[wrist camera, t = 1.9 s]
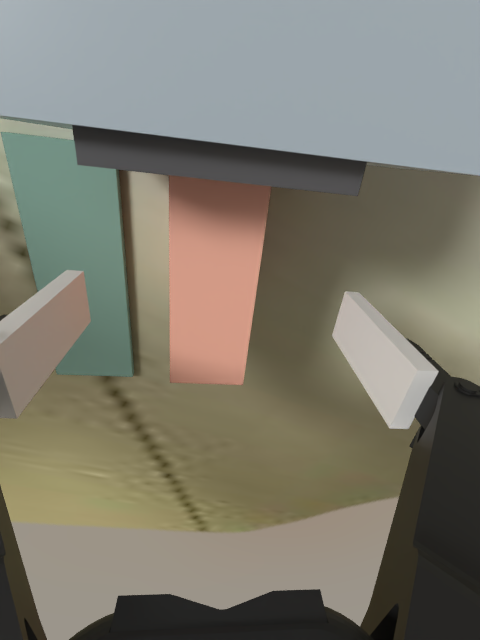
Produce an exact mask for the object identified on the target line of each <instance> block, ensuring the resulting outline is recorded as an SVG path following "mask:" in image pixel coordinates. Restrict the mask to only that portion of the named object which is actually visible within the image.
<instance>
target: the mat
mask: <svg viewBox="0 0 480 640" xmlns="http://www.w3.org/2000/svg"><path fill="white" fill-rule="evenodd" d="M1 136H2V140H3V144H4V148H5V153H6V157H7V161H8V166H9V170H10V174H11V179H12V183H13V187H14V192H15V196H16V200H17V205H18V209H19V213H20V218H21V222H22V226H23V230H24V235H25V239H26V243H27V248H28V252H29V256H30V261H31V265H32V269H33V274H34V278H35V282H36V287H37V291H38V292H39V291H40V290H41V289H43V288H44V287H45V286H46V285H48V284H49V283H50V282H52V281H53V280H54V279H56V278H57V277H58V276H59V275H61V274H62V273H63V272H65V271H66V270H76V271H84V277H85V284H86V291H87V298H88V305H89V312H90V319H91V322H90V323H89V324H88V326H87V327H86V328H85V330H84V331H83V332H82V334H81V335H80V336H79V338H78V339H77V340H76V342H75V343H74V344H73V345H72V347H71V348H70V349H69V351H68V352H67V353H66V355H65V356H64V357H63V359H62V360H61V361H60V363H59V364H58V365H57V367H56V373H57V374H62V375H94V376H125V377H133V374H134V363H133V350H132V337H131V324H130V311H129V298H128V285H127V272H126V259H125V245H124V232H123V219H122V206H121V193H120V180H119V170H118V169H109V168H100V167H91V166H82V165H77V157H76V150H75V142H74V140H67V139H59V138H50V137H42V136H34V135H25V134H17V133H9V132H1Z"/></svg>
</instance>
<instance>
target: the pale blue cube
mask: <svg viewBox="0 0 480 640" xmlns="http://www.w3.org/2000/svg"><path fill="white" fill-rule="evenodd" d="M0 118H2V119H9V120H15V121H22V122H28V123H35V124H42V125H48V126H55V127H61V128H68V129H73V135H74V142H75V150H76V157H77V165H82V166H91V167H100V168H109V169H118V170H127V171H136V172H145V173H154V174H163V175H172V176H181V177H190V178H199V179H209V180H218V181H227V182H236V183H245V184H254V185H263V186H272V187H281V188H290V189H299V190H308V191H317V192H326V193H335V194H344V195H353V196H358V193H359V189H360V185H361V182H362V178H363V174H364V171H365V167H366V165H369V166H380V167H390V168H401V169H411V170H422V171H433V172H443V173H454V174H464V175H475V176H480V0H0Z"/></svg>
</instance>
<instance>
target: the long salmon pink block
mask: <svg viewBox="0 0 480 640" xmlns="http://www.w3.org/2000/svg"><path fill="white" fill-rule="evenodd" d="M271 187H272V186H263V185H254V184H245V183H236V182H227V181H218V180H209V179H199V178H190V177H181V176H172V175H169V274H170V383H197V384H230V385H243V381H244V374H245V367H246V360H247V353H248V346H249V339H250V333H251V326H252V319H253V312H254V305H255V298H256V291H257V284H258V277H259V270H260V263H261V256H262V249H263V243H264V236H265V229H266V222H267V215H268V208H269V201H270V194H271Z"/></svg>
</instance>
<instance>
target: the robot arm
mask: <svg viewBox="0 0 480 640" xmlns="http://www.w3.org/2000/svg"><path fill="white" fill-rule="evenodd" d="M90 322H91V319H90V312H89V305H88V298H87V291H86V284H85V277H84V271H76V270H66V271H65V272H63V273H62V274H61V275H59V276H58V277H57V278H56V279H54V280H53V281H52V282H50V283H49V284H48V285H46V286H45V287H44V288H43V289H41V290H40V291H39V292H37V293H36V294H35V295H33V296H32V297H31V298H30V299H28V300H27V301H26V302H24V303H23V304H22V305H20V306H19V307H18V308H17V309H15V310H14V311H13V312H11V313H10V314H9V315H2V316H0V418H18V417H19V415H20V414H21V413H22V411H23V410H24V409H25V407H26V406H27V405H28V403H29V402H30V401H31V400H32V398H33V397H34V396H35V394H36V393H37V392H38V390H39V389H40V388H41V386H42V385H43V384H44V382H45V381H46V380H47V378H48V377H49V376H50V374H51V373H52V372H53V371H54V369H55V368H56V367H57V365H58V364H59V363H60V361H61V360H62V359H63V357H64V356H65V355H66V353H67V352H68V351H69V349H70V348H71V347H72V345H73V344H74V343H75V342H76V340H77V339H78V338H79V336H80V335H81V334H82V332H83V331H84V330H85V328H86V327H87V326H88V324H89V323H90ZM332 337H333V338H334V340H335V342H336V343H337V345H338V346H339V348H340V350H341V351H342V353H343V354H344V356H345V358H346V359H347V361H348V362H349V364H350V366H351V367H352V369H353V371H354V372H355V374H356V375H357V377H358V379H359V380H360V382H361V383H362V385H363V387H364V388H365V390H366V391H367V393H368V395H369V396H370V398H371V399H372V401H373V403H374V404H375V406H376V408H377V409H378V411H379V412H380V414H381V416H382V417H383V419H384V420H385V422H386V424H387V425H388V427H389V428H390V429H409V427H410V425H411V423H412V421H413V420H414V418H416V419H417V420H418V422H419V423H420V424H421V426H420V428H419V430H418V431H417V433H416V435H415V437H414V439H413V441H412V442H411V444H410V446H409V447H411V448H413V449H412V452H411V456H410V460H409V463H408V467H407V471H406V474H405V478H404V482H403V485H402V489H401V493H400V496H399V500H398V504H397V507H396V511H395V515H394V518H393V522H392V525H391V529H390V533H389V536H388V540H387V544H386V547H385V551H384V555H383V558H382V562H381V566H380V569H379V573H378V577H377V580H376V584H375V587H374V591H373V595H372V598H371V601H370V605H369V607H368V610H367V612H366V615H365V617H364V619H363V622H362V624H361V626H360V627H359V626H358V625H357V624H356V623H354V622H353V621H352V620H350V619H348V618H347V617H345V616H344V615H342V614H341V613H338V612H336V611H334V610H332V609H330V608H328V607H325V606H324V604H323V600H322V596H321V592H320V589H319V590H287V591H272V592H269V593H267V594H264V595H262V596H259V597H256V598H254V599H251V600H249V601H247V602H244V603H241V604H239V605H236V606H234V607H231V608H229V609H225V610H219V609H216V608H212V607H209V606H206V605H203V604H200V603H197V602H193V601H190V600H187V599H184V598H181V597H178V596H174V595H171V594H161V595H131V596H130V595H129V596H118V599H117V603H116V608H115V612H114V613H113V614H110V615H108V616H105V617H103V618H101V619H99V620H97V621H95V622H94V623H92V624H90V625H88V626H87V627H86V628H84V629H83V630H81V631H80V632H78V633H77V634H75V635H74V636H73V637H72V638H71V639H69V640H480V387H479V386H478V385H476V384H474V383H472V382H470V381H468V380H465V379H462V378H456V377H451V376H450V375H449V374H448V373H447V372H446V371H445V370H443V369H442V368H441V367H440V366H439V365H438V364H437V363H436V362H435V361H434V360H432V358H431V357H430V356H429V355H428V354H426V352H425V351H424V350H423V349H422V348H421V347H420V346H419V345H417V344H415V343H414V342H412V341H411V340H409V339H407V338H405V337H404V336H403V335H402V334H401V333H400V332H398V331H397V330H396V329H395V328H394V327H393V326H392V325H391V324H390V323H389V322H388V321H387V320H386V319H385V318H384V317H383V316H382V315H381V314H380V313H379V312H378V311H377V310H376V309H375V308H374V307H373V306H372V305H371V304H370V303H369V302H368V301H367V300H366V299H365V298H364V297H363V296H362V295H361V294H360V293H359V292H349V291H345V293H344V296H343V300H342V303H341V307H340V310H339V313H338V317H337V320H336V324H335V327H334V330H333V334H332ZM0 640H47V638H46V636H45V633H44V630H43V627H42V625H41V622H40V619H39V616H38V613H37V609H36V606H35V603H34V599H33V596H32V593H31V589H30V585H29V582H28V579H27V576H26V572H25V568H24V565H23V562H22V558H21V555H20V551H19V548H18V544H17V541H16V538H15V534H14V531H13V527H12V524H11V520H10V517H9V514H8V510H7V507H6V503H5V500H4V497H3V493H2V490H1V486H0Z"/></svg>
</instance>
